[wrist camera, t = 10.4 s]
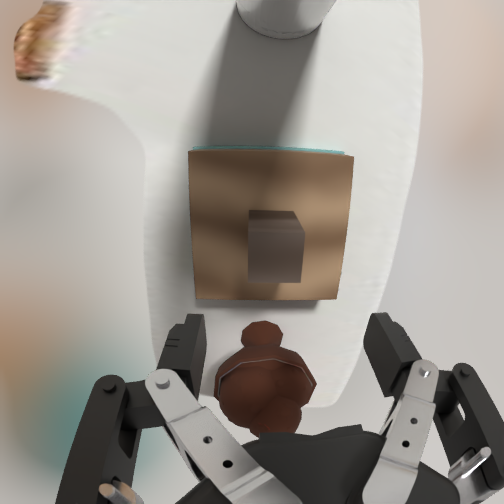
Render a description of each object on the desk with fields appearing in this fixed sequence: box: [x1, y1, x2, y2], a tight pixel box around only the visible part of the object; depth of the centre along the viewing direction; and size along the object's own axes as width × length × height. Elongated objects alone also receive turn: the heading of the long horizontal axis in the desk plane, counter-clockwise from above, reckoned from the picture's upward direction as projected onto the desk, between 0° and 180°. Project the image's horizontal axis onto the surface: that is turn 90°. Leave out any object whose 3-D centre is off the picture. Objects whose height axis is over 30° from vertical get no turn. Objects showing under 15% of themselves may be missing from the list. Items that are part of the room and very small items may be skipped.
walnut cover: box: [188, 149, 354, 300], centre depth 25 cm, size 15×15×10 cm
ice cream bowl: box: [214, 321, 317, 438], centre depth 30 cm, size 11×11×15 cm
